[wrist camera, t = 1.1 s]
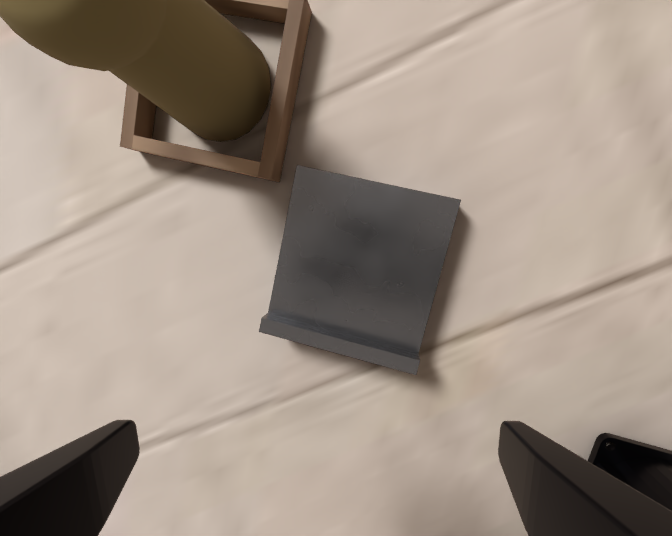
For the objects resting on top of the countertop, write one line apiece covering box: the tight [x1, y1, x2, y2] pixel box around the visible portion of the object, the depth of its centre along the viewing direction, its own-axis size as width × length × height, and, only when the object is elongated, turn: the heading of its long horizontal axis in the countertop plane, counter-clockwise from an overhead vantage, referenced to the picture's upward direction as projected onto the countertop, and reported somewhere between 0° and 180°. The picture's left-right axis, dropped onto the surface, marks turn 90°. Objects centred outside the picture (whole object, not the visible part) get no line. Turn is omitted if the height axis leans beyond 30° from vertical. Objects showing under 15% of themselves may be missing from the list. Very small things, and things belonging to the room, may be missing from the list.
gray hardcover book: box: [259, 165, 461, 375], centre depth 19 cm, size 8×9×2 cm
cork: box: [0, 0, 271, 142], centre depth 14 cm, size 6×6×11 cm
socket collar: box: [120, 0, 312, 182], centre depth 19 cm, size 9×9×2 cm
